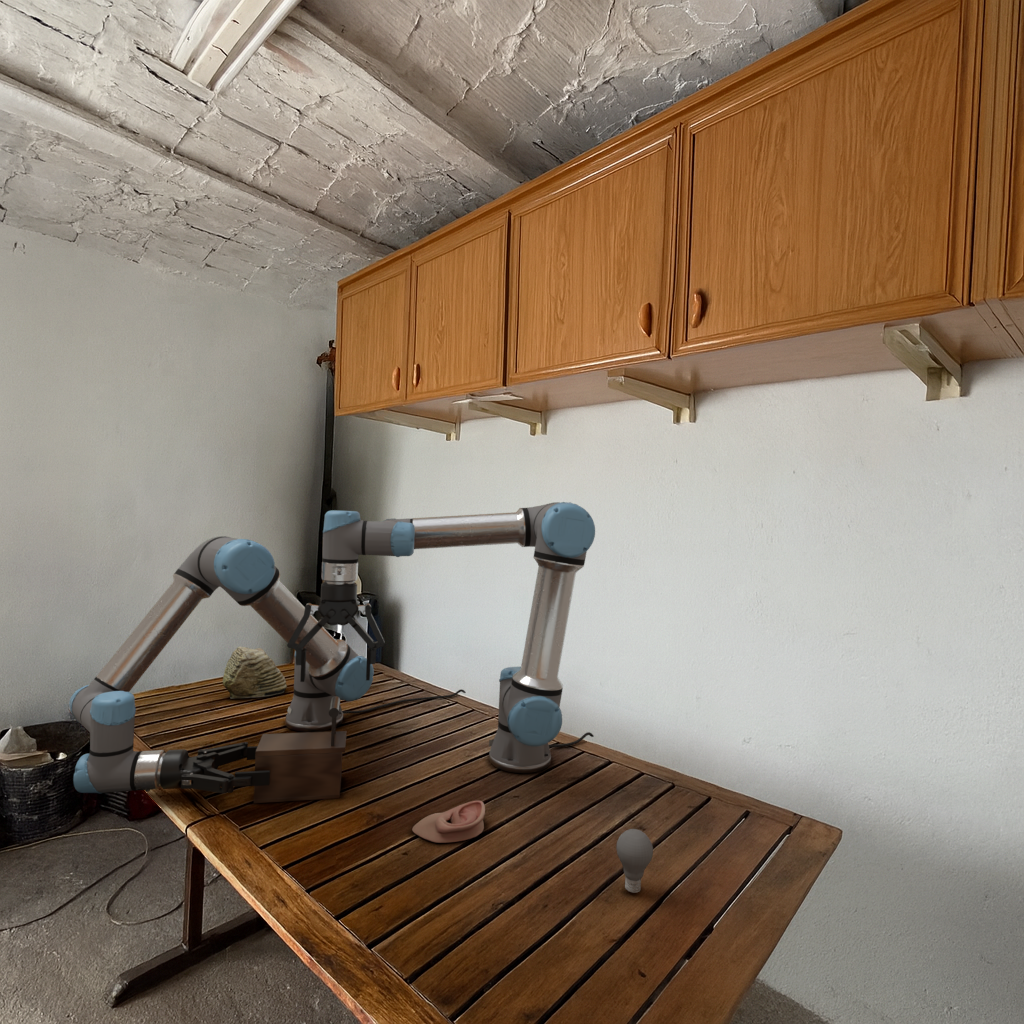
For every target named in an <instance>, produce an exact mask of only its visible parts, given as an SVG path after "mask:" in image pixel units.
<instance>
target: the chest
mask: <svg viewBox="0 0 1024 1024" xmlns="http://www.w3.org/2000/svg"><path fill="white" fill-rule="evenodd" d="M269 770H270V783H269V785H264V786H253V804H264V803H265V804H266V803H279V802H297V801H299V802H300V801H313V800H316V801H317V800H329V799H340V798H341V789H342V788H341V787H342V770H343V753H322V754H300V755H277V756H256V757H255V760H254V771H269Z"/></svg>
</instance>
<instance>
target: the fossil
mask: <svg viewBox="0 0 1024 1024" xmlns="http://www.w3.org/2000/svg"><path fill="white" fill-rule="evenodd" d="M222 676H223V677H222V685H223V687H224V688H225V690H226V691H228V693H229V698H230V699H250V698H264V697H271V696H275V695H281V694H284V693H285V691H286V689H287V687H288V686H287V680H286V678H285V676H284V674H283V673H282V672H281V669H279V668H278V667H277V665H276V663H275V662H274V660H273V659H272V658H271V657H270V656H269V655H268V654H267V653H266V652H265V650H264V649H263V648H260V647H258V648H251V647H247V646H246V647H245V646H238V647H237V648H236V649H235V650H233V651H232V653H231V656H230V657H229V659H228V660H227V663H226V666H225V668H224V671H223V675H222Z"/></svg>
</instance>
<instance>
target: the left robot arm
mask: <svg viewBox="0 0 1024 1024" xmlns="http://www.w3.org/2000/svg"><path fill="white" fill-rule="evenodd" d="M172 578H173V581H172V582H171V584H170V585H169V586H168V587H167V588H166V590H165V591H164V593H162V595H161V596H160V597H159V598H158V600H157V601H156V602H155V604H154V605H153V606H152V607H151V609H150V610H149V611H148V612H147V613H146V615H145V616H144V617H143V618H142V619H141V621H140V622H139V623H138V625H137V626H136V627H134V629H133V630H132V632H131V633H130V634H129V636H128V637H127V638H126V639H125V640H124V642H123V643H122V644H121V645H120V647H118V649H117V650H116V651H115V653H114V654H113V655H112V656H111V658H110V659H109V660H108V661H107V662H106V664H105V665H104V666H103V668H102V669H101V670H100V671H99V672H98V674H97V675H96V676H95V677H94V678H93V679H92V681H91V682H90V683H89V684H87V685H84V686H81V687H80V688H78V689H76V690H75V692H73V694H72V695H71V697H70V699H69V701H68V702H69V703H68V709H69V712H70V713H71V715H72V717H73V719H75V721H76V722H77V723H79V724H81V726H83V728H85V729H86V731H88V732H89V740H90V741H89V745H90V746H89V753H85V754H83V755H81V756H80V757H79V759H78V760H77V762H76V765H75V767H74V773H73V778H72V781H73V787H74V789H75V790H76V791H77V792H78V793H82V794H98V795H100V794H106V793H107V794H108V793H119V792H134V791H135V792H137V791H145V793H149V792H150V791H153V790H160V789H163V790H176V789H177V790H178V789H182V790H187V789H188V790H189V789H191V790H192V789H193V790H199V791H205V792H211V793H218V794H230V793H234V788H243V787H254V786H264V785H269V783H270V770H269V771H255V770H250V771H235V773H234V774H233V773H229V772H226V771H223V770H220V769H219V767H221V766H225V765H228V764H231V763H234V762H237V761H240V760H243V759H244V760H245V759H246V761H255V757H256V756H255V754H256V749H257V747H258V745H253V746H249V742H248V741H244V742H238V743H233V744H229V745H223V746H218V747H213V748H205V749H198V750H197V755H194V756H190V755H189V752H188V750H187V749H185V748H183V749H168V750H167V751H165V750H164V749H156V750H155V749H154V750H143V751H142V750H139V751H136V750H134V745H135V744H134V740H135V722H136V721H135V719H136V711H137V709H136V699H135V695H134V694H133V693H132V692H130V691H132V689H133V688H134V687H135V685H136V684H137V683H138V682H139V680H141V678H142V676H144V674H145V673H146V672H147V670H148V669H149V668H150V666H151V665H152V664H153V663H154V661H155V660H156V658H157V657H158V656H159V655H160V654H161V652H162V651H163V650H164V648H166V646H167V644H168V643H169V642H170V641H171V640H172V638H173V637H174V636H175V634H176V633H177V632H178V631H179V630H180V628H181V627H182V626H183V624H184V623H185V622H186V621H187V619H188V618H189V617H190V616H191V614H192V613H193V612H194V610H195V609H196V608H197V607H198V605H199V604H200V603H201V602H202V600H205V599H209V598H210V597H211V596H212V595H213V593H214V592H216V590H217V589H218V588H221V589H222V590H224V591H225V593H227V595H229V596H230V597H231V598H232V599H233V600H234V601H235V602H236V603H237V604H238V605H239V606H241V607H249V606H250V607H251V609H253V611H255V612H256V613H257V614H258V615H259V616H260V617H261V618H262V619H263V620H264V621H265V622H266V623H267V624H268V625H269V626H270V627H271V628H272V629H273V630H274V631H275V632H276V634H278V635H279V636H280V637H281V638H282V639H283V640H284V641H285V642H286V643H287V644H288V642H289V640H290V639H291V637H292V635H293V633H294V631H295V630H296V628H297V626H298V624H299V623H300V621H301V619H302V617H303V615H304V611H305V606H304V605H303V604H302V603H301V602H300V601H299V599H298V598H297V597H296V596H295V595H294V594H293V593H292V592H291V591H290V590H289V589H288V588H287V587H286V586H285V585H284V583H283V582H282V581H281V580H280V579H281V571H280V569H278V567H276V563H275V559H274V557H273V555H272V553H271V552H270V550H269V549H267V548H266V546H264V545H263V544H261V543H259V542H257V541H254V540H251V539H247V538H238V537H237V538H235V537H230V536H224V535H221V536H213V537H211V538H209V539H206V540H205V541H203V542H202V543H200V544H199V545H198V546H197V547H195V549H194V550H193V551H191V553H190V554H189V555H188V556H187V557H186V558H185V560H184V561H183V562H182V563H181V564H180V565H179V567H178V568H177V569H176V570H175V572H174V573H173V574H172ZM318 621H319V620H317V619H316V618H315V616H314V615H310V616H309V618H308V620H307V622H306V624H305V626H304V627H303V629H302V631H301V633H300V634H299V636H298V638H297V640H296V642H298V643H299V642H300V641H301V640H302V639H303V638H304V637H305V636H306V634H307V633H308V632H309V631H310V630H311V629H312V628H313V627H314V626H315V625H316V624H317V623H318ZM303 648H306V672H305V681H304V682H300V678H301V665H296V650H295V649H293V650H294V655H293V657H294V672H293V673H294V674H293V695H292V696H293V697H292V699H291V702H290V704H289V706H288V708H287V710H286V711H287V713H286V715H285V726H286V728H287V729H289V730H291V731H294V732H295V731H296V732H300V733H307V732H326V731H329V730H331V729H332V717H330V715H329V708H330V702H331V699H332V698H333V697H334V696H337V697H339V698H340V701H345V702H353V701H354V702H355V701H357V700H359V699H361V698H362V697H363V696H365V695H366V693H367V692H368V691H369V690H370V688H371V686H372V684H373V681H374V675H375V670H374V664H370V680H367V681H366V667H367V657H365V656H363V655H359V654H358V653H357V652H356V651H355V650H353V648H352V647H351V646H350V645H349V644H348V643H347V642H346V641H345V640H344V639H340V638H339V639H337V638H334V637H333V636H332V635H331V634H330V633H329V631H328V630H327V629H326V628H325V627H324V626H323V627H322V628H321V629H320V630H319V631H318V632H317V633H316V634H315V635H314V637H313V638H312V639H311V640H310V641H309V642H308V643H307V644H306V645H305V646H304V647H303ZM460 693H463V694H466V691H465V690H464V689H458V690H457V691H455V693H452V694H447V695H435V696H424V697H413V698H406V699H400V700H396V701H392V702H388V703H383V704H380V705H377V706H373V707H370V708H366V709H361V710H360V709H359V710H343V709H342V706H341V705H340V708H339V714H338V716H337V718H336V728H337V727H339V726H340V725H342V723H343V722H344V715H345V714H362V713H363V714H364V713H367V712H371V711H374V710H377V709H381V708H385V707H389V706H392V705H397V704H400V703H401V704H402V703H407V702H417V701H427V700H436V699H446V698H452V697H455V696H457V695H458V694H460Z"/></svg>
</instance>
